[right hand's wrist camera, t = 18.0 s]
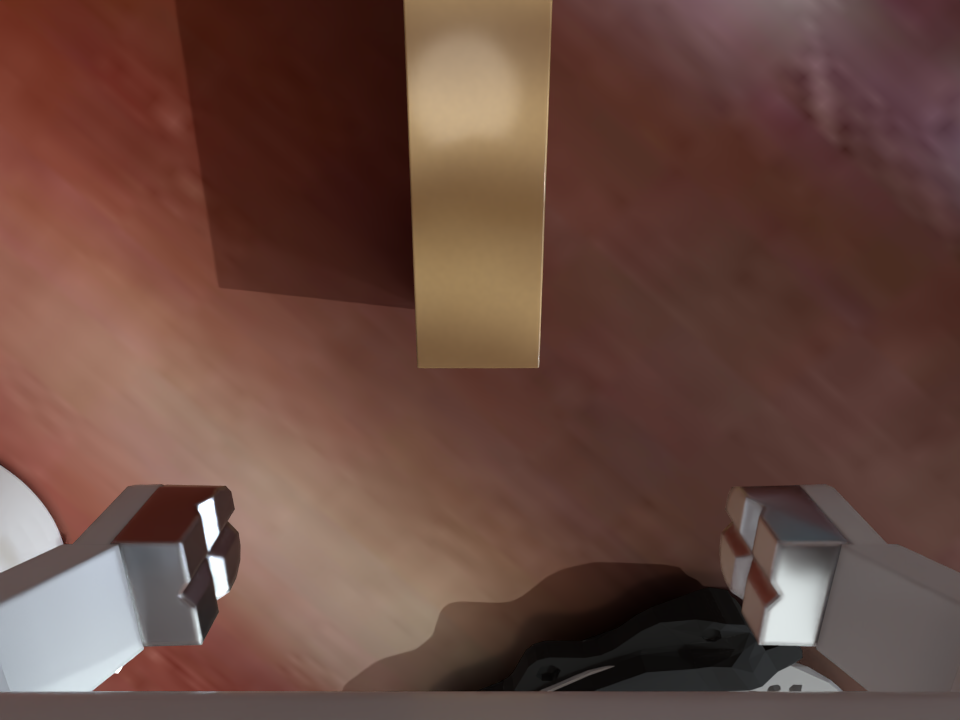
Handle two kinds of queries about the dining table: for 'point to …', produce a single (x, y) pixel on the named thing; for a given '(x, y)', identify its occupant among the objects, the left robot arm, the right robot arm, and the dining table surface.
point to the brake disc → (668, 655)
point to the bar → (477, 177)
